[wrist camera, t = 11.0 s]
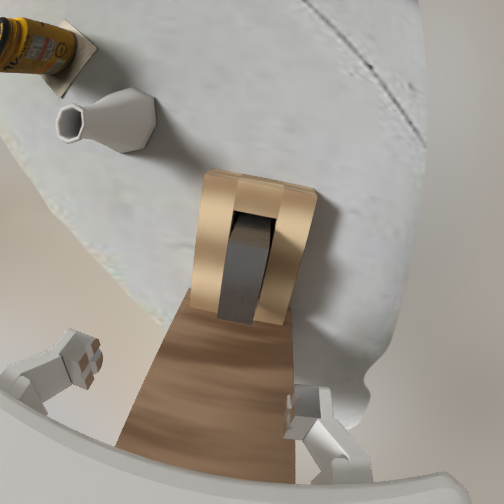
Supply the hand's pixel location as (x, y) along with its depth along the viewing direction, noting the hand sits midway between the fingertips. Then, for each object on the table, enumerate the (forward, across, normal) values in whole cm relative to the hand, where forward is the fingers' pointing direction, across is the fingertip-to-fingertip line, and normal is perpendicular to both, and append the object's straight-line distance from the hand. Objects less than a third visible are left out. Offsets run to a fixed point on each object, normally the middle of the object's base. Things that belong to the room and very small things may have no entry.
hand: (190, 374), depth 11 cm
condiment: (+22, +25, -16) cm, 37 cm away
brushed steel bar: (+21, -1, +4) cm, 21 cm away
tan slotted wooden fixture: (+21, -1, +5) cm, 22 cm away
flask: (+22, +14, -8) cm, 27 cm away
